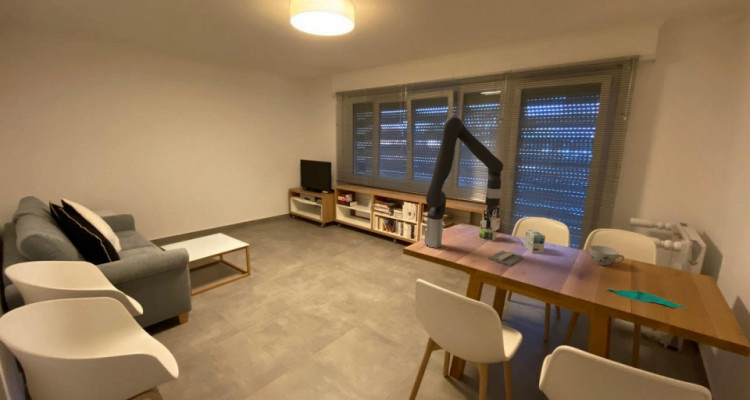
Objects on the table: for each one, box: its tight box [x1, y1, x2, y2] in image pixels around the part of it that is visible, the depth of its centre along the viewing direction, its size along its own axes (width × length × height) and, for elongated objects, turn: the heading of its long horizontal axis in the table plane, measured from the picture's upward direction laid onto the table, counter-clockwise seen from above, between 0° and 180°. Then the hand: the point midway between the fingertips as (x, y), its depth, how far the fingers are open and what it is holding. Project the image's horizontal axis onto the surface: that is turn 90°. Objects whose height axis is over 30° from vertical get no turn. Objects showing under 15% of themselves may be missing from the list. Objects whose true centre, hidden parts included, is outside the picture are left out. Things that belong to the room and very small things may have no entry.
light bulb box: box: [523, 229, 546, 254], centre depth 182 cm, size 11×7×11 cm, turn 179°
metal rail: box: [497, 251, 515, 261], centre depth 169 cm, size 3×14×1 cm, turn 132°
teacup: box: [589, 245, 625, 267], centre depth 164 cm, size 15×12×8 cm
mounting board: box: [487, 250, 525, 267], centre depth 169 cm, size 12×16×1 cm
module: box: [482, 217, 501, 231], centre depth 173 cm, size 8×4×6 cm, turn 42°
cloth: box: [605, 288, 687, 309], centre depth 130 cm, size 26×14×2 cm, turn 46°
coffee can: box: [478, 215, 497, 242], centre depth 201 cm, size 10×10×14 cm
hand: (490, 226), depth 174 cm, fingers closed on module, 4 cm apart
